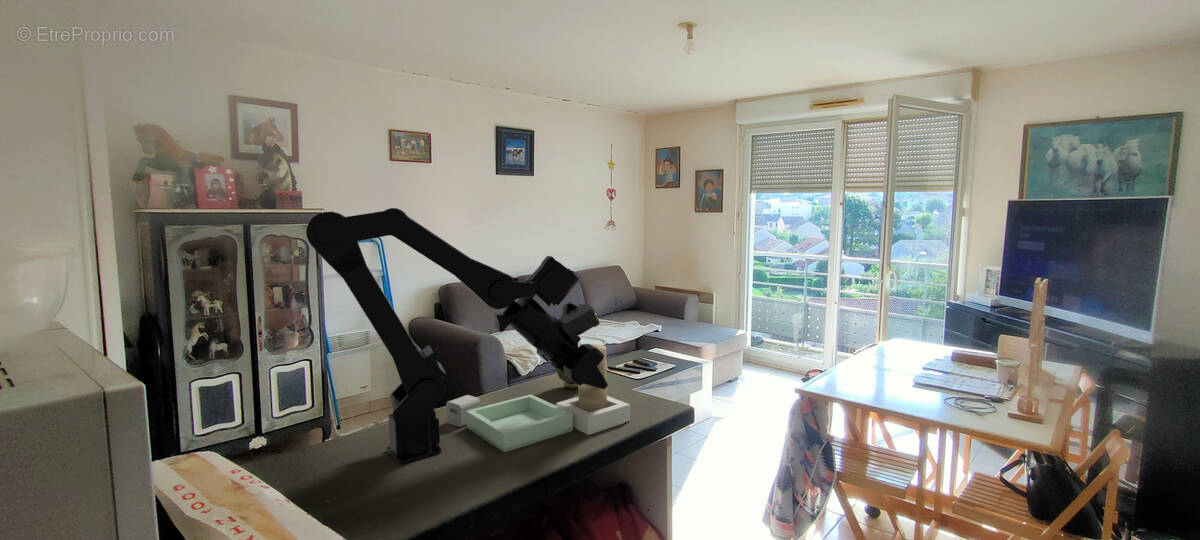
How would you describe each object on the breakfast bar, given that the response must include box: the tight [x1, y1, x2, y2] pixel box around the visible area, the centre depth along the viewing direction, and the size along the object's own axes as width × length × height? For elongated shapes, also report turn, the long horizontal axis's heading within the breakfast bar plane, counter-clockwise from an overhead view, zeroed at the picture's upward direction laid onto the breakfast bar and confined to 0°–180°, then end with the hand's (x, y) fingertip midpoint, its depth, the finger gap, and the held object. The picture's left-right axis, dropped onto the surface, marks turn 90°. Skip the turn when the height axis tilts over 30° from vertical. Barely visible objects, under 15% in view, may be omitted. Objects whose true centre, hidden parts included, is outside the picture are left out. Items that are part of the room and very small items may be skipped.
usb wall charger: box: [445, 394, 489, 428], centre depth 99 cm, size 4×7×4 cm, turn 143°
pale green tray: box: [466, 394, 574, 453], centre depth 94 cm, size 13×13×3 cm
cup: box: [555, 368, 578, 391], centre depth 116 cm, size 8×7×8 cm
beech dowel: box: [577, 344, 608, 413], centre depth 97 cm, size 5×5×13 cm
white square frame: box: [555, 395, 631, 436], centre depth 98 cm, size 9×9×3 cm
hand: (599, 382), depth 98 cm, fingers closed on beech dowel, 5 cm apart
